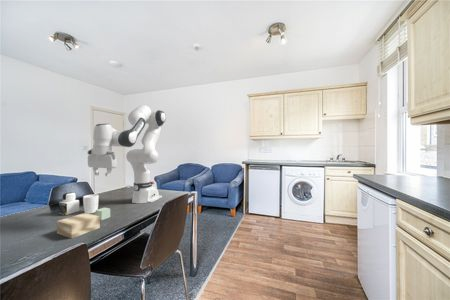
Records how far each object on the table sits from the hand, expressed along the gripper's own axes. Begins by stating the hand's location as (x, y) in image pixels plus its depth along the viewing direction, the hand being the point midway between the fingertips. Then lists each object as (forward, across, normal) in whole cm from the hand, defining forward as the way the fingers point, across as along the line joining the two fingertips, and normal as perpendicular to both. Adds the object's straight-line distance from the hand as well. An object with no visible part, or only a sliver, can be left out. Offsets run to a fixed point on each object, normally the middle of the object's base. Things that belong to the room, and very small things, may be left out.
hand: (102, 175), depth 104 cm
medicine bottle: (+24, +27, +2) cm, 37 cm away
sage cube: (+24, -1, -1) cm, 24 cm away
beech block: (+25, -6, +14) cm, 29 cm away
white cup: (+24, +16, -4) cm, 30 cm away
